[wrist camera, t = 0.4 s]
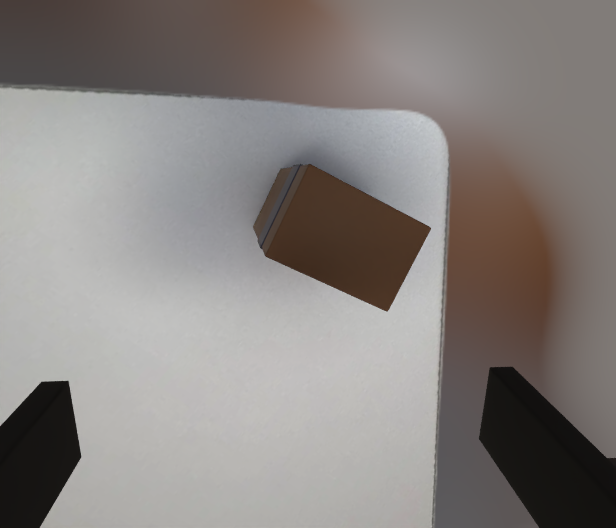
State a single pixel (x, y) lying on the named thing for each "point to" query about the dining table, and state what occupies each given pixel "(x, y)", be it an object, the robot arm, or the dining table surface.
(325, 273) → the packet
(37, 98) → the dining table surface
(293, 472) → the dining table surface
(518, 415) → the robot arm
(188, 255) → the dining table surface
